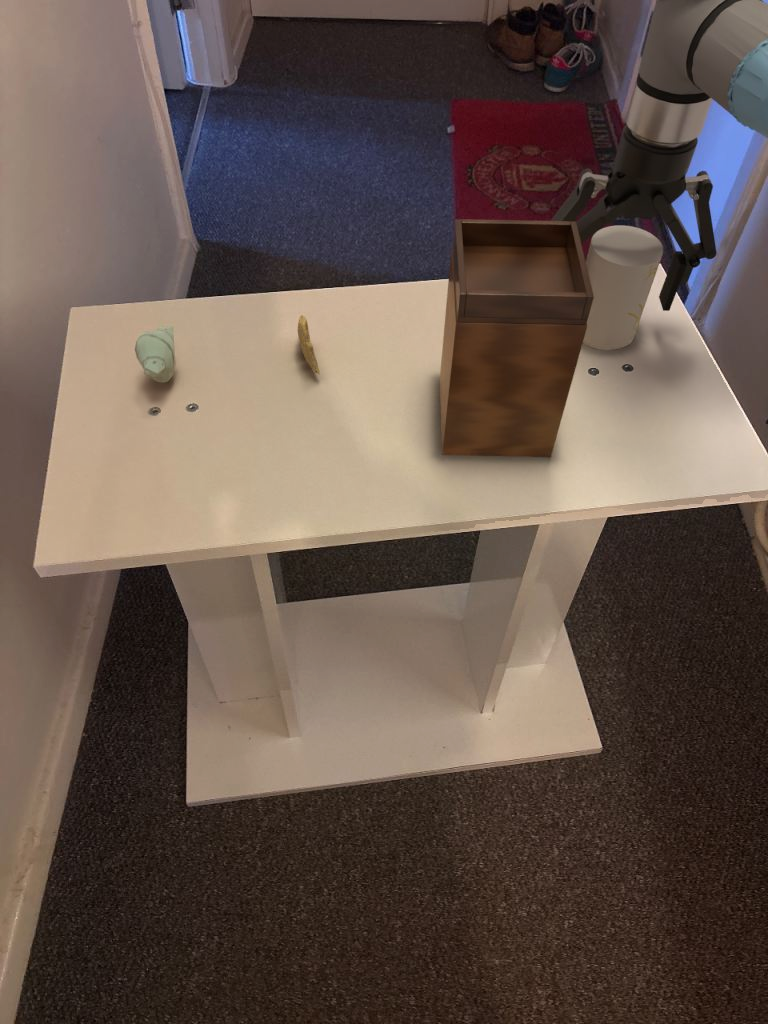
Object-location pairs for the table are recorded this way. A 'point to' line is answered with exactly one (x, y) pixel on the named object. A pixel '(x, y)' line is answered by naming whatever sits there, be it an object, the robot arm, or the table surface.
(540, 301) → the holder
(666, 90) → the robot arm
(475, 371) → the stand
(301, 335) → the pastry
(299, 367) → the table surface
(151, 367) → the pale green rounded piece
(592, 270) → the white patterned cylinder
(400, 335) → the table surface
